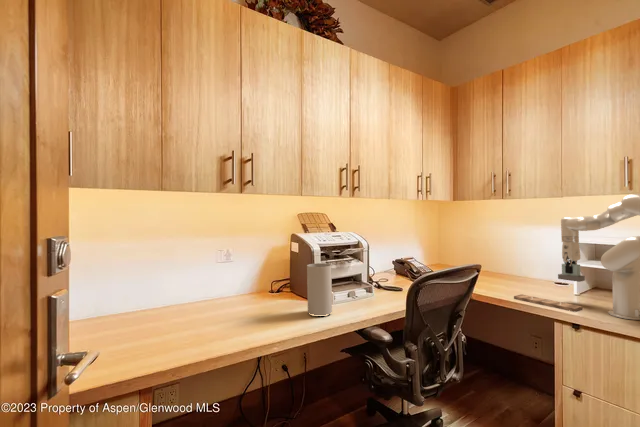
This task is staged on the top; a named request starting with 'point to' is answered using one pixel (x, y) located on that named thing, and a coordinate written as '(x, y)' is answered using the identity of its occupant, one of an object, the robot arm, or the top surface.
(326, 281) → the cylinder vase
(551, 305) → the walnut plank
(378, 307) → the top surface
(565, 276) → the sanding block
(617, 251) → the robot arm
